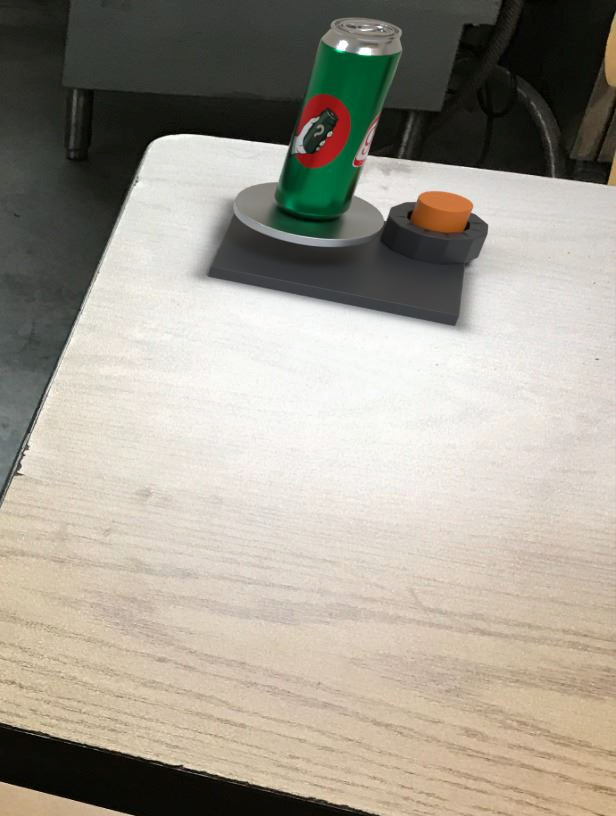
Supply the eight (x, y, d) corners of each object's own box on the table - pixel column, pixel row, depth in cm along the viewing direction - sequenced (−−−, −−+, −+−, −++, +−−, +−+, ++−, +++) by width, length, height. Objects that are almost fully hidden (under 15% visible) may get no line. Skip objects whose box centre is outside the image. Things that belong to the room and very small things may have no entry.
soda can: (352, 227, 93) (416, 42, 85) (276, 220, 94) (332, 35, 86) (340, 198, 97) (400, 18, 89) (267, 192, 97) (320, 12, 89)
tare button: (465, 220, 97) (474, 196, 96) (462, 239, 94) (472, 215, 93) (411, 211, 98) (420, 187, 97) (407, 229, 95) (416, 205, 94)
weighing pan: (387, 205, 98) (390, 197, 97) (374, 259, 91) (378, 250, 90) (244, 180, 101) (247, 172, 100) (222, 230, 94) (224, 221, 93)
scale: (470, 258, 99) (489, 212, 97) (461, 341, 90) (482, 292, 87) (236, 215, 104) (249, 169, 102) (204, 289, 95) (217, 240, 92)
